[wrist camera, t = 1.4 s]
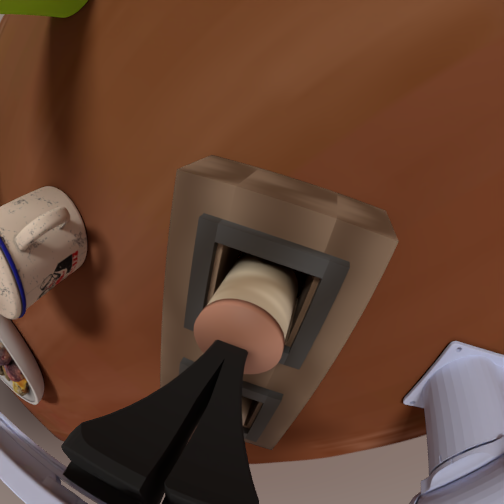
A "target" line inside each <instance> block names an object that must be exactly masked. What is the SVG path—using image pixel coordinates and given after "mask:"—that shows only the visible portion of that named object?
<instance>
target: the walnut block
mask: <svg viewBox="0 0 504 504" xmlns="http://www.w3.org/2000/svg"><path fill="white" fill-rule="evenodd" d="M397 244H398V239H397V237H396V234H395V232H394V229H393V227H392V224H391V222H390V220H389V217H388V215H387V213H386V211H385V210H382V209H380V208H377V207H374V206H372V205H369V204H366V203H364V202H361V201H358V200H356V199H353V198H350V197H347V196H344V195H342V194H339V193H336V192H333V191H330V190H327V189H324V188H321V187H318V186H315V185H312V184H309V183H306V182H303V181H300V180H297V179H294V178H291V177H287V176H284V175H281V174H278V173H274V172H271V171H268V170H264V169H261V168H258V167H254V166H251V165H247V164H244V163H240V162H236V161H233V160H229V159H225V158H221V157H218V156H214V155H211V156H208V157H206V158H203V159H201V160H198V161H196V162H194V163H191V164H189V165H186V166H184V167H182V168H179V169H177V173H176V180H175V187H174V194H173V202H172V210H171V218H170V227H169V236H168V246H167V257H166V269H165V281H164V296H163V312H162V334H161V374H160V388H162V387H163V386H165V385H166V384H168V383H169V382H170V381H172V380H173V379H174V378H176V377H177V376H178V375H180V374H181V373H182V372H184V371H185V370H186V369H187V368H188V367H189V366H191V365H192V364H193V363H194V362H195V361H196V360H197V359H198V358H199V357H200V356H202V355H203V354H204V353H203V352H202V351H201V349H200V348H199V346H198V344H197V342H196V340H195V337H194V324H195V321H196V319H197V317H198V316H199V314H200V313H201V311H202V310H203V309H204V308H205V307H206V306H207V304H208V303H209V301H210V300H211V298H212V297H213V295H214V294H215V292H216V291H217V289H218V288H219V286H220V285H221V283H222V282H223V280H224V279H225V277H226V276H227V274H228V273H229V271H230V270H231V268H232V267H233V265H234V264H235V263H236V262H237V259H238V255H239V251H243V252H246V253H249V254H252V255H255V256H257V257H260V258H263V259H266V260H269V261H272V262H275V263H278V264H281V265H284V266H287V267H290V268H292V269H295V270H298V271H301V272H304V273H307V274H308V276H307V278H306V281H305V283H304V286H303V288H302V291H301V293H300V296H299V298H298V299H297V298H296V301H295V305H294V309H293V312H292V316H291V320H290V324H289V327H288V331H287V334H286V338H285V344H284V349H283V353H282V356H281V359H280V360H279V362H278V363H277V365H276V366H274V367H273V368H272V369H270V370H268V371H266V372H263V373H259V374H243V383H242V396H244V397H246V398H249V399H252V403H251V406H250V409H249V412H248V414H247V417H246V420H245V423H244V425H243V432H244V441H245V442H248V443H251V444H254V445H257V446H260V447H263V448H267V449H270V450H272V449H273V448H274V446H275V445H276V444H277V442H278V441H279V440H280V439H281V437H282V436H283V435H284V433H285V432H286V431H287V429H288V428H289V427H290V425H291V424H292V423H293V421H294V420H295V418H296V417H297V416H298V414H299V413H300V412H301V410H302V409H303V407H304V406H305V404H306V403H307V402H308V400H309V399H310V397H311V396H312V394H313V393H314V391H315V390H316V388H317V387H318V385H319V384H320V382H321V381H322V379H323V378H324V376H325V375H326V373H327V372H328V370H329V369H330V367H331V365H332V364H333V362H334V361H335V359H336V357H337V356H338V354H339V352H340V351H341V349H342V348H343V346H344V344H345V343H346V341H347V339H348V337H349V336H350V334H351V332H352V331H353V329H354V327H355V325H356V324H357V322H358V320H359V318H360V317H361V315H362V313H363V311H364V309H365V307H366V306H367V304H368V302H369V300H370V298H371V296H372V294H373V292H374V291H375V289H376V287H377V285H378V283H379V281H380V279H381V277H382V275H383V273H384V271H385V269H386V267H387V265H388V263H389V261H390V259H391V256H392V254H393V252H394V250H395V248H396V246H397Z"/></svg>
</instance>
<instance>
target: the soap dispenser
mask: <svg viewBox="0 0 504 504" xmlns="http://www.w3.org/2000/svg"><path fill="white" fill-rule="evenodd" d="M87 1H88V0H0V14H22V15H39V16H50V17H60V18H66V17H69V16H71V15H73V14H75V13H76V12H78V11H79V10H80V9H81V8H82V7H83V6H84V5H85V4H86V3H87Z"/></svg>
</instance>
